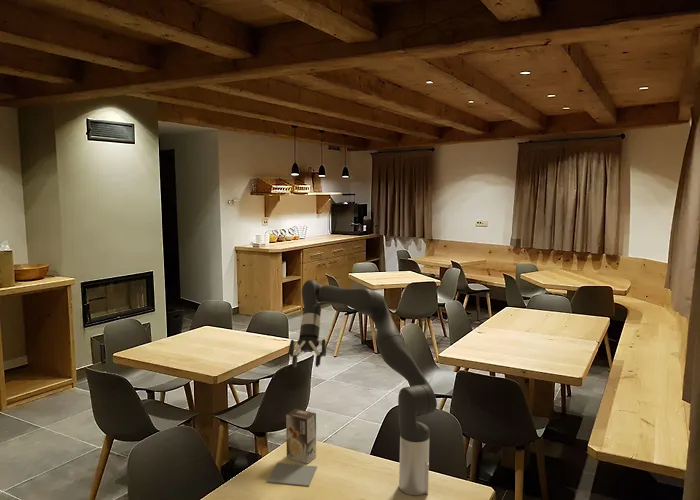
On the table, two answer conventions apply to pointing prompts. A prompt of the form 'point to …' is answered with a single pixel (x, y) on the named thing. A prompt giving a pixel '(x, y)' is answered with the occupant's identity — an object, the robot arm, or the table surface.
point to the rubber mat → (292, 474)
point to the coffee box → (301, 435)
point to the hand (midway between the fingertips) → (305, 366)
